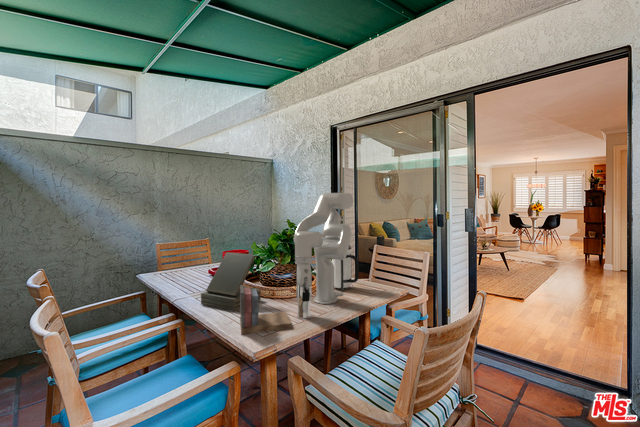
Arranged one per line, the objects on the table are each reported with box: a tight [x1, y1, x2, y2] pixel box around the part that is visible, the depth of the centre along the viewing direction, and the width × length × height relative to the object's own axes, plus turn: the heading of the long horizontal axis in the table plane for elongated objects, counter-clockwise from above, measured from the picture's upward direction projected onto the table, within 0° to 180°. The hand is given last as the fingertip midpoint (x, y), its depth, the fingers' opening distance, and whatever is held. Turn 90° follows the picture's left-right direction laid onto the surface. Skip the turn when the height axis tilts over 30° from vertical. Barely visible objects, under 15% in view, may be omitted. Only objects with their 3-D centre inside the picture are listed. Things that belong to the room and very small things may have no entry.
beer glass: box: [295, 282, 313, 320], centre depth 135 cm, size 7×7×15 cm
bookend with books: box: [239, 285, 293, 335], centre depth 126 cm, size 20×14×16 cm
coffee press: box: [332, 244, 360, 293], centre depth 178 cm, size 17×16×30 cm
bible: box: [200, 251, 262, 313], centre depth 155 cm, size 23×20×25 cm
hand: (303, 298), depth 134 cm, fingers open, 9 cm apart
